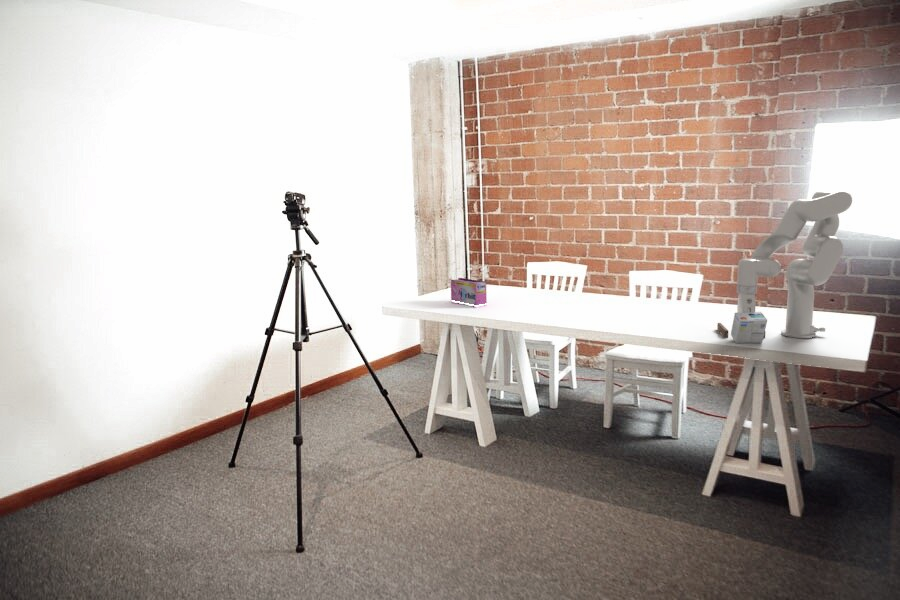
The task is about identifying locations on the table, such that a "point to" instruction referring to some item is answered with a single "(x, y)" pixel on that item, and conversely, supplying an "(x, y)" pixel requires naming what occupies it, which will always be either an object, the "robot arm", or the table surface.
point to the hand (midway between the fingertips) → (743, 333)
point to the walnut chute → (725, 330)
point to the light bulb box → (748, 327)
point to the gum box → (468, 291)
